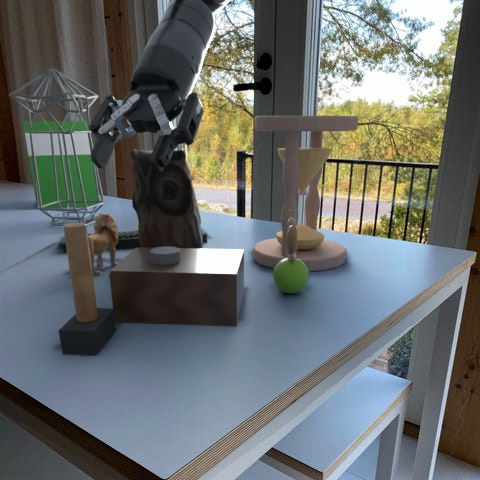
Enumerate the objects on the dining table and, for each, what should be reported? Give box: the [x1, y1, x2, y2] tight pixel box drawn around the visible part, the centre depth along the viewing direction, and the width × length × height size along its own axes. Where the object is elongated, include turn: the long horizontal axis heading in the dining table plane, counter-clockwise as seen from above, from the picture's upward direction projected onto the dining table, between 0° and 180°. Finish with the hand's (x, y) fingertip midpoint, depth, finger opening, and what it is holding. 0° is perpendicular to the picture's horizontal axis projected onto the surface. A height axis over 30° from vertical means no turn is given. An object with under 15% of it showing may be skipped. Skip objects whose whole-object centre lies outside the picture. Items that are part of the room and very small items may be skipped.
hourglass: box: [252, 115, 359, 272], centre depth 86 cm, size 18×18×25 cm
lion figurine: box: [68, 212, 119, 279], centre depth 82 cm, size 15×5×9 cm, turn 171°
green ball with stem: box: [272, 209, 310, 294], centre depth 71 cm, size 5×6×12 cm
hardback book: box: [22, 120, 98, 209], centre depth 141 cm, size 18×7×24 cm, turn 110°
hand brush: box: [58, 222, 117, 356], centre depth 54 cm, size 4×7×14 cm, turn 175°
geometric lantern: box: [8, 68, 105, 227], centre depth 113 cm, size 16×16×35 cm
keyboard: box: [61, 229, 208, 253], centre depth 103 cm, size 30×11×2 cm, turn 107°
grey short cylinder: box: [150, 247, 181, 265], centre depth 63 cm, size 4×4×2 cm
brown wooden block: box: [108, 247, 245, 327], centre depth 66 cm, size 17×12×7 cm
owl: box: [130, 148, 204, 249], centre depth 83 cm, size 13×13×20 cm
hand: (125, 165), depth 57 cm, fingers open, 8 cm apart
